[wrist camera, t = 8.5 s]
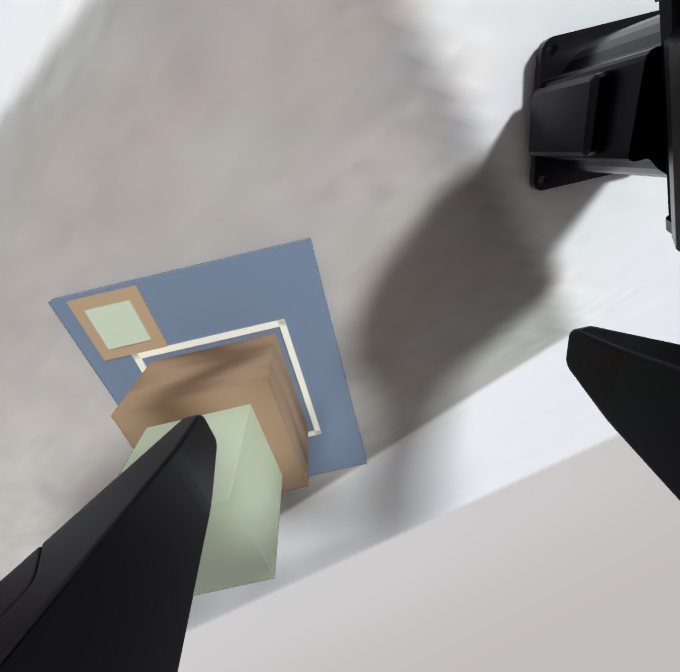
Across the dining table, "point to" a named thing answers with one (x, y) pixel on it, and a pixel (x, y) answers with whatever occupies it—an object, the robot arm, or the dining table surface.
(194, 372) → the walnut base block
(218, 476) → the sage cube
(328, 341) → the board
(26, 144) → the dining table surface
